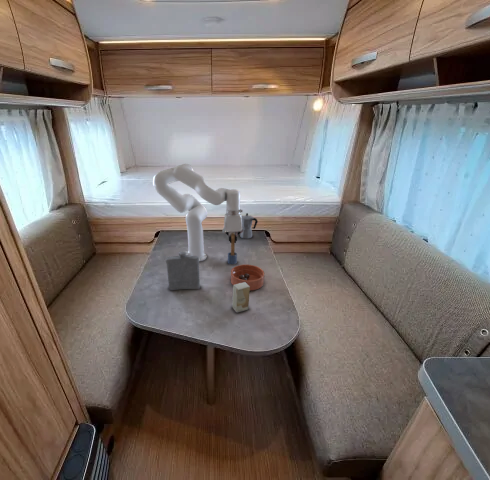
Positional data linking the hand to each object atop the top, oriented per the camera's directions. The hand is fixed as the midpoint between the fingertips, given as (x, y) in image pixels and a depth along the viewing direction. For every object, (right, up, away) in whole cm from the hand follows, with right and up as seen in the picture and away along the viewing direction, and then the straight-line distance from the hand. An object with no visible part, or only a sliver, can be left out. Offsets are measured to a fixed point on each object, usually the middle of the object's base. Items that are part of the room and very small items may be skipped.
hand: (232, 241), depth 156 cm
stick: (0, -10, +4) cm, 10 cm away
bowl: (+6, -21, -15) cm, 27 cm away
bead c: (+6, -18, -13) cm, 23 cm away
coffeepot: (+15, +4, +43) cm, 46 cm away
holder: (0, -13, +5) cm, 14 cm away
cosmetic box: (0, -30, -35) cm, 46 cm away
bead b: (+4, -20, -17) cm, 27 cm away
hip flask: (-27, -24, -18) cm, 40 cm away
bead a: (+3, -19, -15) cm, 24 cm away
